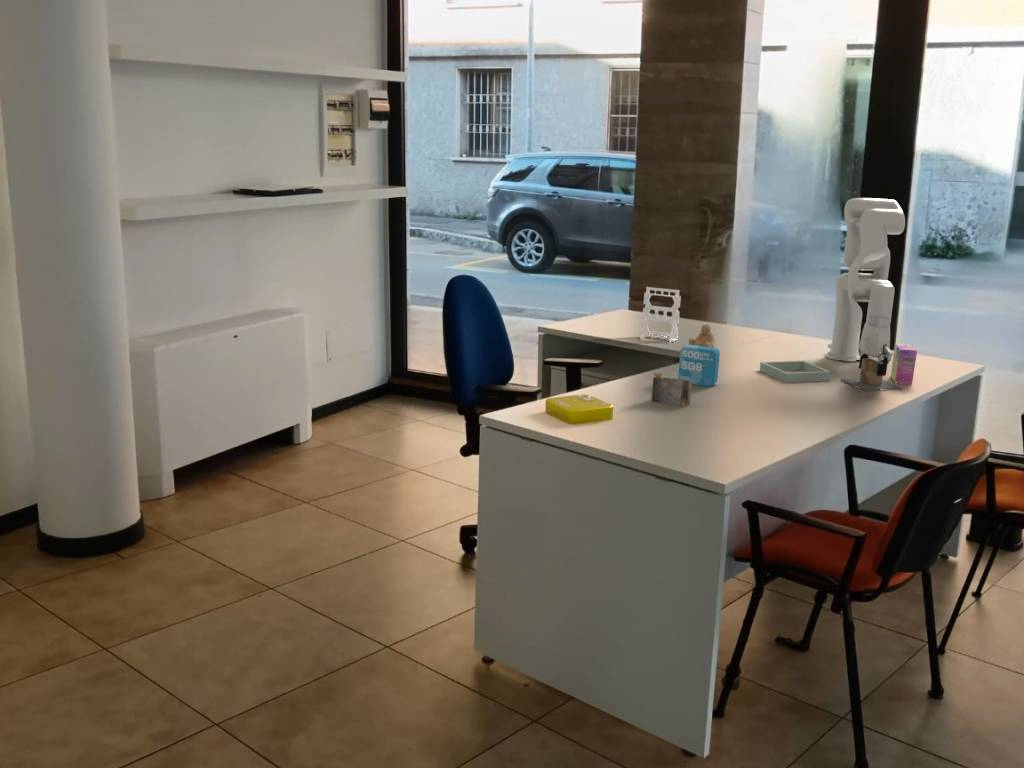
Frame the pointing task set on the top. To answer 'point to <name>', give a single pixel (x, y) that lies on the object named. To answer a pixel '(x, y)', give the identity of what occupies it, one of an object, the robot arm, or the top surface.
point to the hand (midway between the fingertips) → (872, 372)
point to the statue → (704, 338)
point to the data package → (699, 365)
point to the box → (903, 363)
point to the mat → (870, 387)
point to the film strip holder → (665, 309)
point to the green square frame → (810, 375)
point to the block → (870, 372)
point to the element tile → (579, 409)
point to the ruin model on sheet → (671, 390)
